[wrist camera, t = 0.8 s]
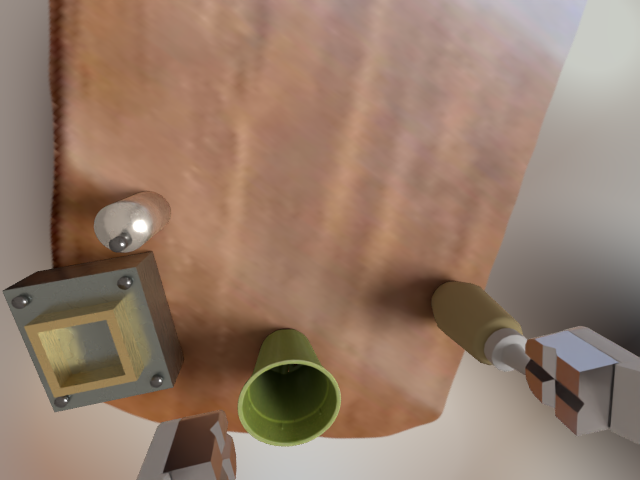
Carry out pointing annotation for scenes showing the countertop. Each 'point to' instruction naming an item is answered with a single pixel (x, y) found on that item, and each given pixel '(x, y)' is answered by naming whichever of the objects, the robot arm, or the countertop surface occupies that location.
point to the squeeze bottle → (480, 325)
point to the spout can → (132, 221)
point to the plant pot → (288, 393)
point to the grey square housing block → (98, 330)
